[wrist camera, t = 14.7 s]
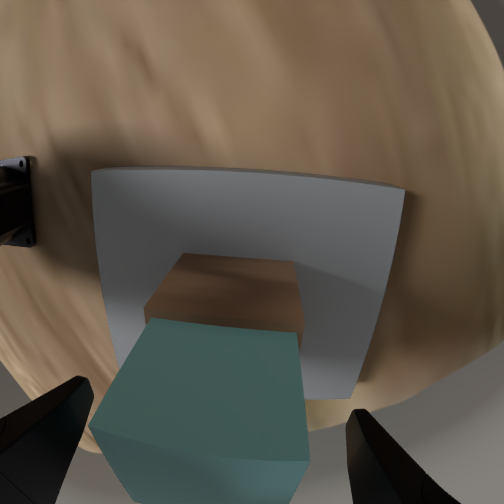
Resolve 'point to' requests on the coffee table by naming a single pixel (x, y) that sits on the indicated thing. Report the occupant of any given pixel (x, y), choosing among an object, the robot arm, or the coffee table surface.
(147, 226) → the base plate
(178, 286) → the walnut block
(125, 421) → the teal block
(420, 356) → the coffee table surface
